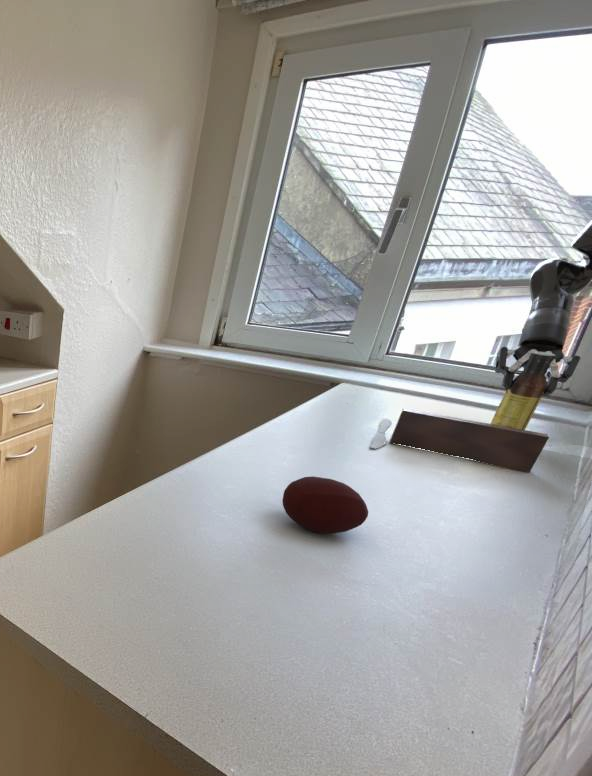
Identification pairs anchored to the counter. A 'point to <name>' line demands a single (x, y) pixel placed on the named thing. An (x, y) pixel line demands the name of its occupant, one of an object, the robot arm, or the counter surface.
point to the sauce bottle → (524, 393)
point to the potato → (324, 505)
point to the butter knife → (381, 434)
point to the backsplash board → (469, 439)
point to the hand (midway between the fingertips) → (527, 390)
